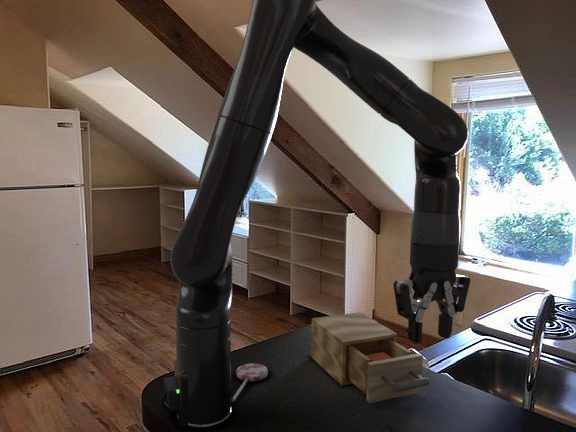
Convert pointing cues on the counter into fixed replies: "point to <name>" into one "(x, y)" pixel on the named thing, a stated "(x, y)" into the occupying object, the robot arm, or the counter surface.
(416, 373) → the drawer
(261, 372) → the lollipop
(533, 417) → the counter surface
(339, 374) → the cabinet
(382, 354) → the block
